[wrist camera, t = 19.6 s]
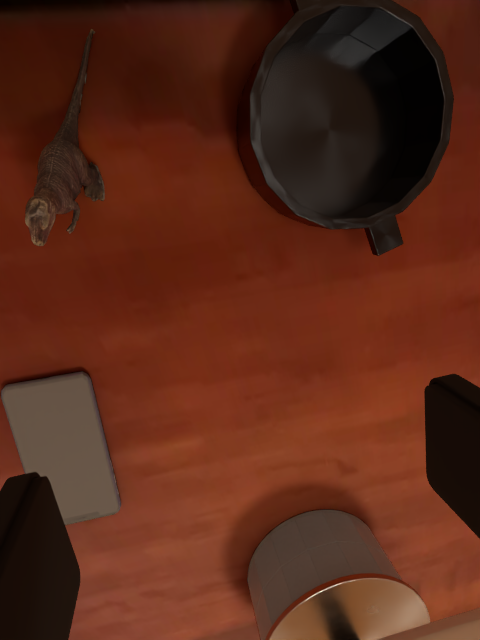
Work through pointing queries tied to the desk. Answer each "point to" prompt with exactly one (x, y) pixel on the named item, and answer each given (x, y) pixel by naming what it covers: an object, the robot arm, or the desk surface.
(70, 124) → the dinosaur model
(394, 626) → the lid
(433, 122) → the pan
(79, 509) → the smartphone
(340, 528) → the pot
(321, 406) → the desk surface
